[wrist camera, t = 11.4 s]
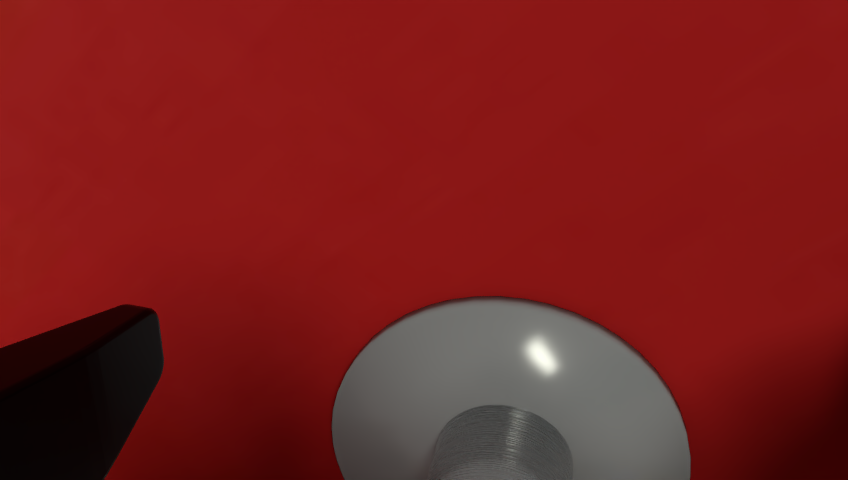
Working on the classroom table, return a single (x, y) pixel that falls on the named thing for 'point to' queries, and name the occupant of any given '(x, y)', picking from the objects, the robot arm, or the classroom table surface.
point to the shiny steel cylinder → (500, 447)
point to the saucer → (506, 390)
